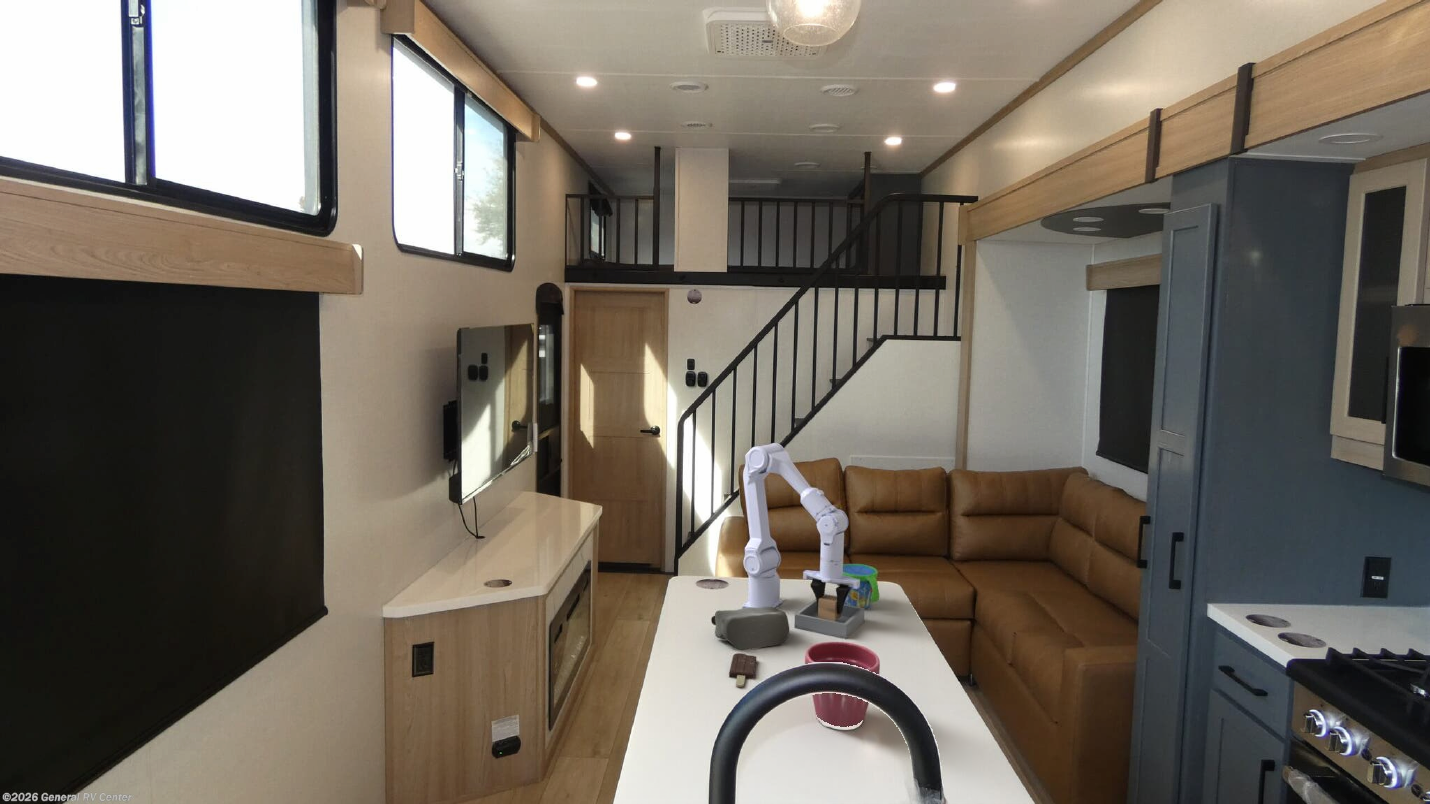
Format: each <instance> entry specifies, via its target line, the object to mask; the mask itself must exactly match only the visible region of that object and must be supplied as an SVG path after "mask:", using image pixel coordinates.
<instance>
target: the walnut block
mask: <svg viewBox="0 0 1430 804" xmlns="http://www.w3.org/2000/svg"><path fill="white" fill-rule="evenodd" d="M840 617H841V613H840V614H837V595H833V594H826V593H825V594H824V595H823V596H822V597H821V598H819V602H818V618H821V619H825V620H830V621H836V620H838V619H839V618H840Z"/></svg>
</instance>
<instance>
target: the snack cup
mask: <svg viewBox="0 0 1430 804" xmlns="http://www.w3.org/2000/svg"><path fill="white" fill-rule="evenodd" d="M878 574H879V572H878V569H877V568H875V567H873V566H870V565H866V564H861V563H847V564H843V575H846V576H849V577H852V578H855V579H860V587H859V588H858V589H854V588H853V587H852V588H851V589H850V591H849V593H848V595H847V597H846V600H845V603H844V604H845V605H850V606H856V607H861V608H865V610H866V609H868V608H869V607H871V604H872V603H876V602H878V601H879V599H880V592H879V591H880V590H879V584H878V582H877V581H878V580H877V578H878ZM838 586H840V585H837V587H838Z"/></svg>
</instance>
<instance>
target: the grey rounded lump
mask: <svg viewBox="0 0 1430 804" xmlns="http://www.w3.org/2000/svg"><path fill="white" fill-rule="evenodd" d="M710 618H711V619H710V620H711V624H712V625H714V626H715V629H714V635H715V637H716V638H718V639H721V640H725V641H728V642H729V643H730V644H731V645H732V646H733V647H735V648H737V649H739V650H741V651H749V650H757V649H760V648H765V647H772V646H779V645H781V644H782V643H783V642H784V641H785V640H786V639H787V638H788V637H789V636H790V635H789V634H790V624H789V619H788V615H787V613H786V612H785V611H783V610H781V609H780V608H778V607H759V608H755V607H742V608H739V609H733V610H732V609H728V610H727V609H726V610H723V609H722V610H720V609H719V610H716V612H715V614H714V615H713V616H712V617H710Z"/></svg>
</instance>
